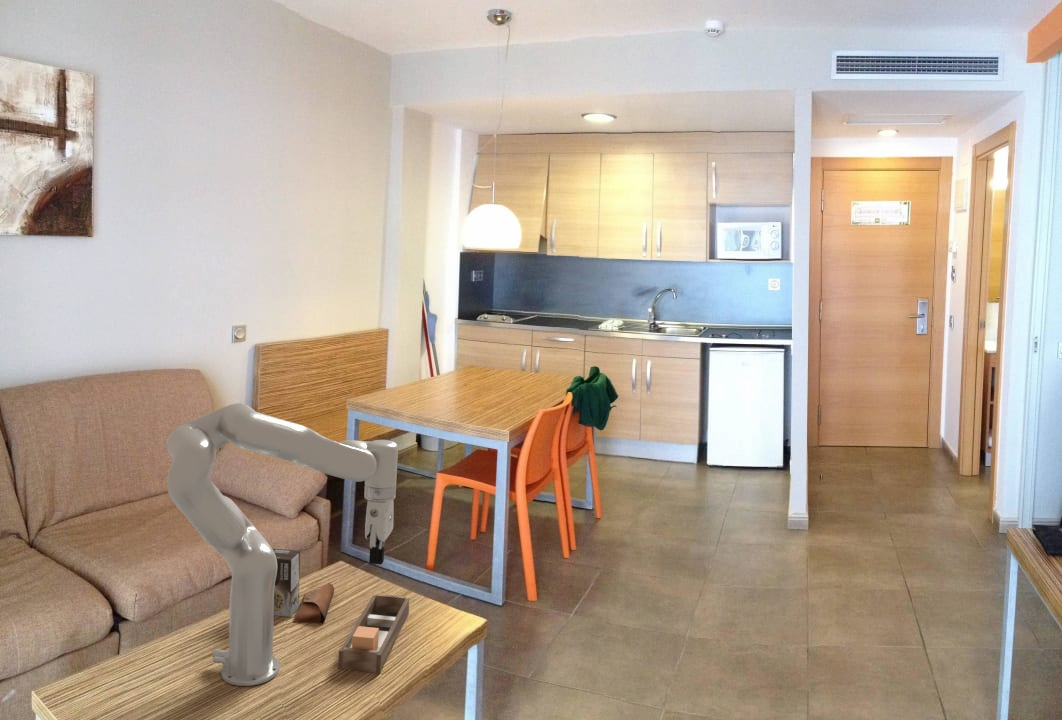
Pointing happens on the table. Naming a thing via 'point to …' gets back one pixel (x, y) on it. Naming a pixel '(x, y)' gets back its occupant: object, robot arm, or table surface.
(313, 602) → the sunglasses case
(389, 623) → the trap box
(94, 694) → the table surface
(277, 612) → the coffee box
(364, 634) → the block
